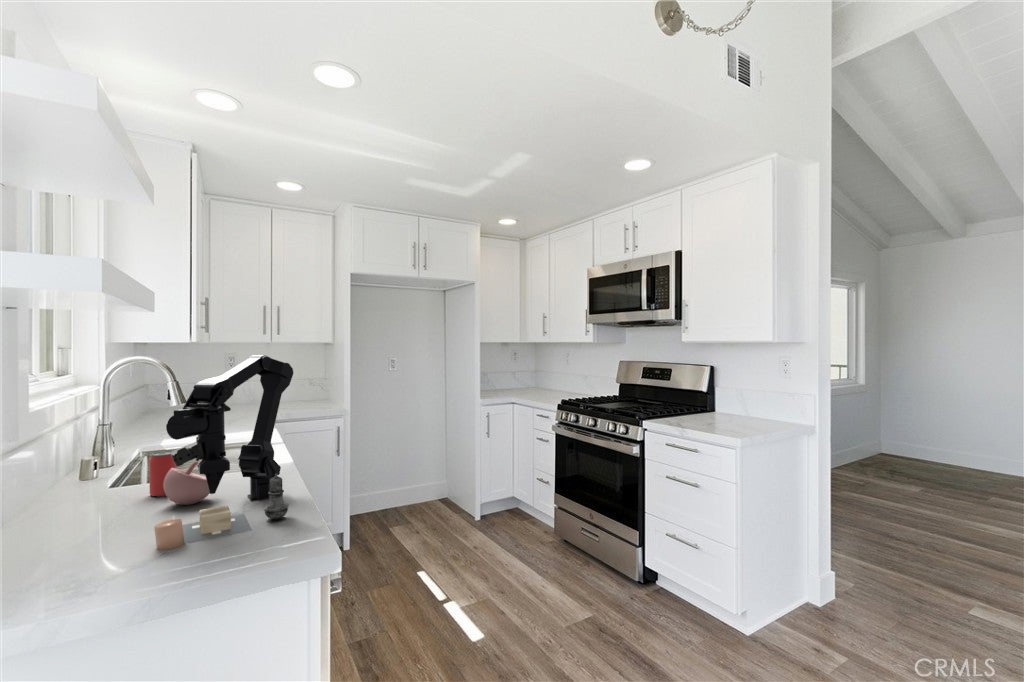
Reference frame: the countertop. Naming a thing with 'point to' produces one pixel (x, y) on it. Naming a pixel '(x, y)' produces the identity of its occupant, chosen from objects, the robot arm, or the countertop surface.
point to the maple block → (215, 519)
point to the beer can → (159, 471)
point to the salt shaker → (276, 502)
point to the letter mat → (194, 533)
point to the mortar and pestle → (185, 486)
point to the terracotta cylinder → (169, 534)
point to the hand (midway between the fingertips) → (212, 493)
